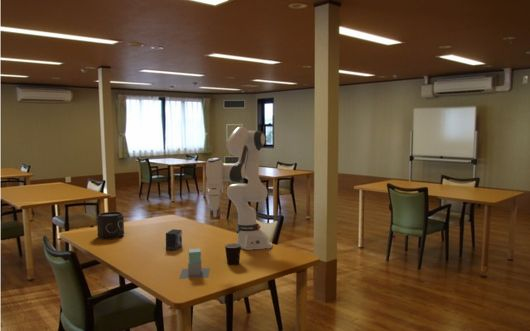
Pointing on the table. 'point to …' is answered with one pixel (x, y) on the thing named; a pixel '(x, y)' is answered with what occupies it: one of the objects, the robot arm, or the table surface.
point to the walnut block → (217, 215)
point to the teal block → (194, 256)
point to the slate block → (194, 268)
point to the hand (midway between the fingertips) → (215, 215)
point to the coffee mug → (233, 253)
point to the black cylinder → (110, 225)
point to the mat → (203, 275)
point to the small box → (173, 239)
